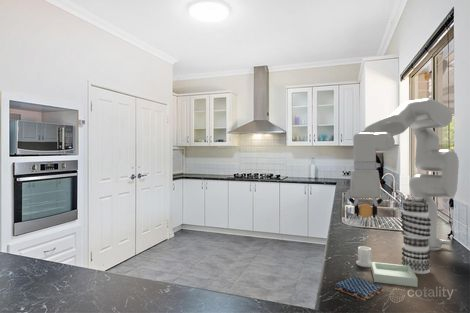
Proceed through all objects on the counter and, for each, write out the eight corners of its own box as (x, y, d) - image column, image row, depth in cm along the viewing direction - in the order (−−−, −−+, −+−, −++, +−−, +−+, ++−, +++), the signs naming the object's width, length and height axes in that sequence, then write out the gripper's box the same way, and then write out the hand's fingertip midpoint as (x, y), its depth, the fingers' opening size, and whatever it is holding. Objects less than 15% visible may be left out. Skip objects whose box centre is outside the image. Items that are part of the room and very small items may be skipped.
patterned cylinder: (394, 266, 113) (394, 196, 113) (413, 263, 116) (413, 195, 116) (417, 275, 104) (417, 200, 104) (437, 272, 108) (437, 198, 108)
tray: (409, 273, 107) (409, 265, 107) (417, 287, 95) (417, 278, 95) (371, 268, 111) (371, 261, 111) (374, 281, 99) (374, 273, 99)
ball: (372, 216, 117) (372, 203, 117) (373, 219, 112) (373, 205, 112) (358, 215, 119) (357, 202, 118) (358, 218, 114) (358, 204, 114)
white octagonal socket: (372, 263, 117) (372, 246, 117) (373, 268, 111) (373, 251, 111) (356, 261, 119) (356, 245, 119) (356, 266, 113) (356, 249, 113)
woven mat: (332, 290, 94) (332, 283, 94) (353, 281, 101) (353, 275, 101) (364, 303, 86) (364, 295, 86) (384, 292, 92) (384, 286, 92)
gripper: (389, 166, 116) (389, 215, 116) (340, 166, 121) (341, 213, 122) (392, 167, 109) (392, 219, 109) (340, 167, 114) (341, 217, 115)
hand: (365, 215), depth 115 cm, fingers closed on ball, 4 cm apart
